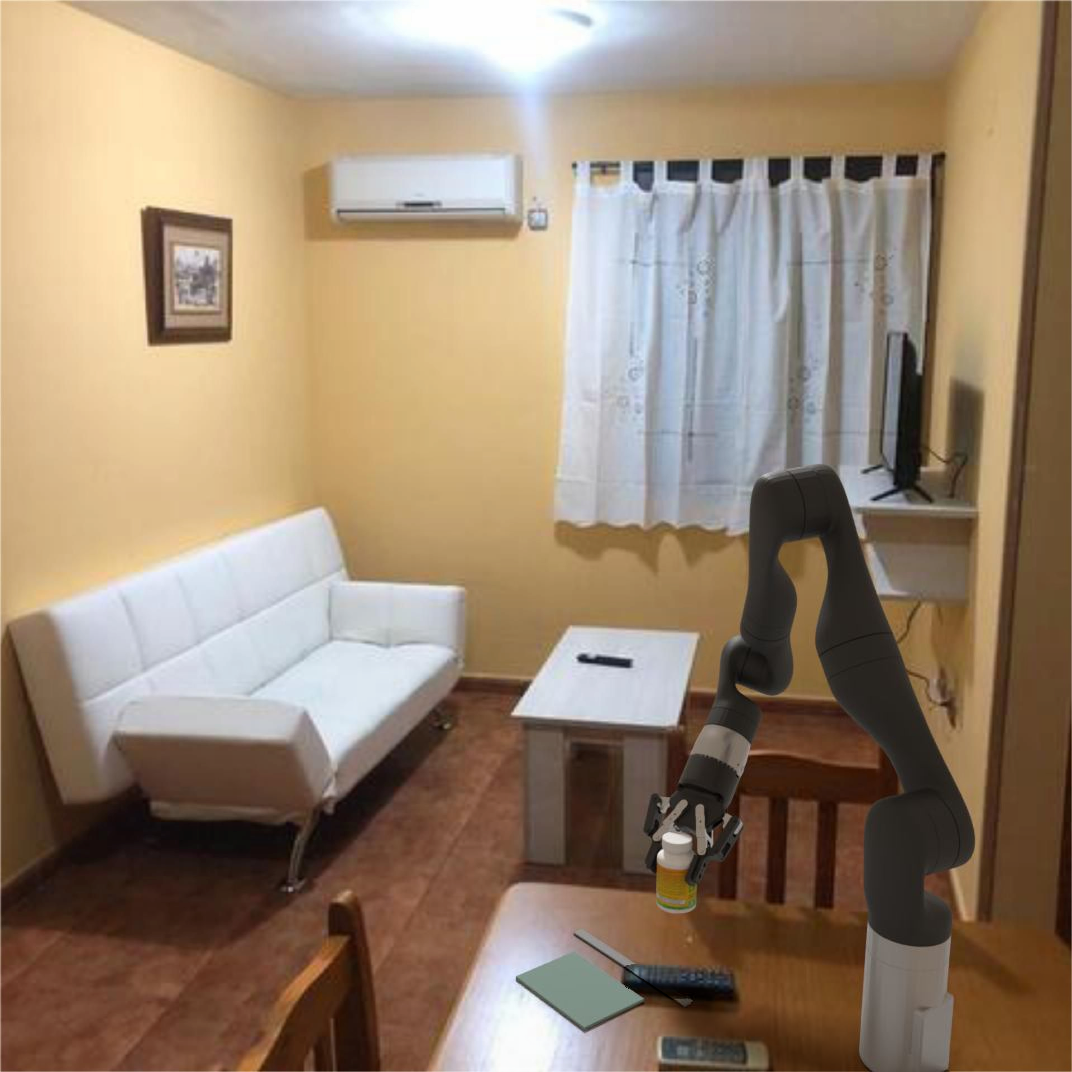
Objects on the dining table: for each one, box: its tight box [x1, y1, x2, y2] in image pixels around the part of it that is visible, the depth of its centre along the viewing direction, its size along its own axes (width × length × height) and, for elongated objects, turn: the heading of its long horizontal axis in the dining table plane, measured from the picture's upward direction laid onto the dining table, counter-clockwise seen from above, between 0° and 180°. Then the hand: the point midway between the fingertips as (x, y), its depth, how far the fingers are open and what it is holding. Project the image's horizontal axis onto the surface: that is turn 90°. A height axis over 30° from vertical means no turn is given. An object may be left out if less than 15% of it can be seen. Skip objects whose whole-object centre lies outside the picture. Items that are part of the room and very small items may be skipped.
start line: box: [573, 928, 693, 1008], centre depth 156 cm, size 22×2×1 cm, turn 38°
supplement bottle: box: [655, 832, 698, 914], centre depth 156 cm, size 5×5×10 cm
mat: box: [515, 951, 645, 1031], centre depth 151 cm, size 14×10×1 cm
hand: (669, 877), depth 155 cm, fingers closed on supplement bottle, 5 cm apart
